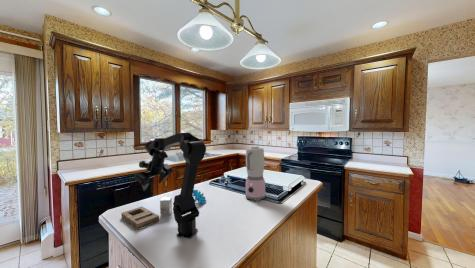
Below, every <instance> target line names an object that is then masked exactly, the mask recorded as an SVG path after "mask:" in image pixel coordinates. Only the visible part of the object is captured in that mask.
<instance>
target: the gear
mask: <svg viewBox="0 0 475 268" xmlns="http://www.w3.org/2000/svg"><path fill="white" fill-rule="evenodd" d="M193 197H194V199H195V203H196V202H198V203H200V204H202V205H203V204H206V201H207V199H206V196H204V192H201V190H198V189H194V190H193Z"/></svg>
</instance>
